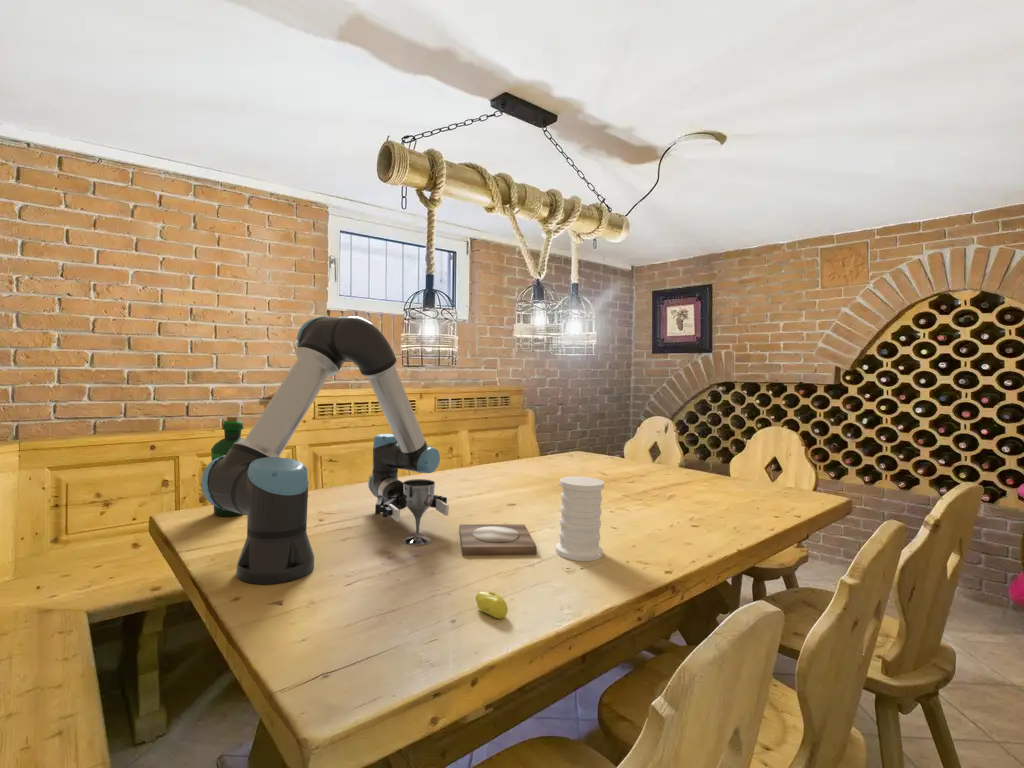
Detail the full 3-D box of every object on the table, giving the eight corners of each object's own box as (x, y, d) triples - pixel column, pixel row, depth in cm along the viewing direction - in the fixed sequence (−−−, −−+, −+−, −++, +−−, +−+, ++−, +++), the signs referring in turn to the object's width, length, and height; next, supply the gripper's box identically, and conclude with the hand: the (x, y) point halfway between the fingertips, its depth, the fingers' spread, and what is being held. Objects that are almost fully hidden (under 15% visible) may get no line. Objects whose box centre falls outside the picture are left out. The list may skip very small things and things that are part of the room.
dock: (536, 554, 130) (536, 544, 130) (462, 555, 128) (462, 545, 128) (524, 531, 148) (524, 522, 148) (459, 531, 146) (459, 523, 146)
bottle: (239, 519, 149) (241, 419, 148) (201, 517, 149) (203, 417, 148) (258, 509, 160) (260, 415, 159) (223, 507, 160) (225, 414, 159)
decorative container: (599, 564, 126) (602, 488, 125) (551, 557, 129) (554, 483, 128) (605, 548, 137) (608, 478, 136) (560, 542, 140) (563, 474, 139)
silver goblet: (405, 534, 141) (407, 478, 141) (435, 536, 141) (437, 479, 141) (398, 544, 133) (400, 485, 133) (429, 546, 133) (431, 486, 133)
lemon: (494, 625, 94) (495, 603, 94) (469, 608, 101) (470, 587, 100) (513, 619, 97) (514, 598, 97) (488, 602, 103) (488, 582, 103)
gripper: (434, 502, 159) (466, 522, 140) (351, 511, 146) (374, 534, 128) (435, 477, 159) (467, 493, 140) (352, 484, 146) (375, 503, 128)
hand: (423, 513), depth 134 cm, fingers open, 12 cm apart
